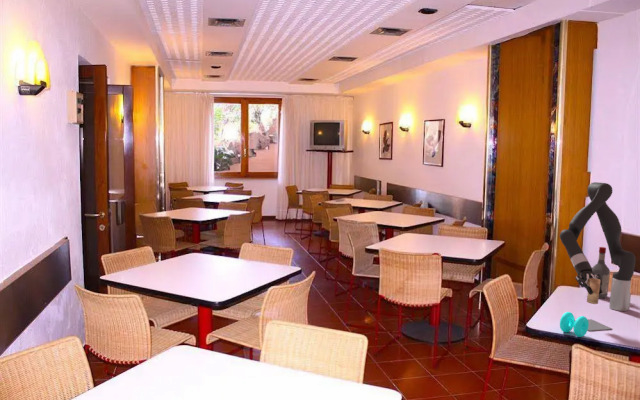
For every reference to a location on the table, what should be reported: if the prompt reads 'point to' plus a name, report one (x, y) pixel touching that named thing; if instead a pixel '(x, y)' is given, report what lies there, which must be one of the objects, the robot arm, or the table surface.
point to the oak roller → (594, 290)
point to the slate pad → (596, 326)
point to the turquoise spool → (574, 324)
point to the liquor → (602, 272)
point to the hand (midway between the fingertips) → (596, 293)
